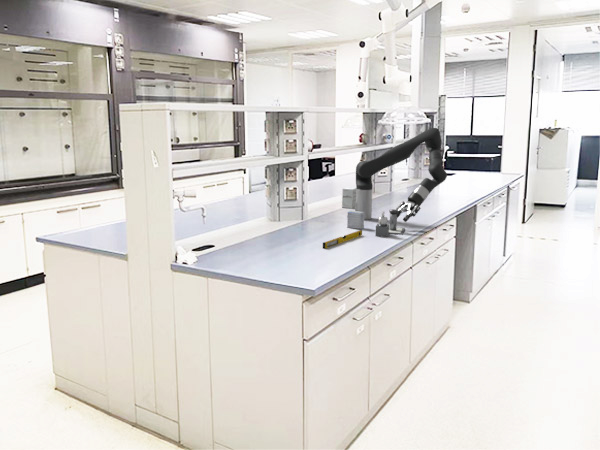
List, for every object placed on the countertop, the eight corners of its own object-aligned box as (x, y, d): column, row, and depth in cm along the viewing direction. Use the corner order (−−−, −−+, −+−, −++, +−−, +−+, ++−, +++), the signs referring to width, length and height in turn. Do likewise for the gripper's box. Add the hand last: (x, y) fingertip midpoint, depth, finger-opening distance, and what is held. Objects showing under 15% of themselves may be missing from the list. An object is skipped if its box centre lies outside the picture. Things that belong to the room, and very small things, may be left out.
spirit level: (359, 235, 264) (359, 229, 264) (361, 236, 264) (362, 230, 263) (322, 248, 238) (322, 242, 237) (325, 249, 237) (325, 242, 237)
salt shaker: (386, 229, 274) (387, 209, 272) (393, 228, 276) (394, 209, 274) (392, 231, 271) (393, 211, 269) (399, 230, 273) (399, 210, 271)
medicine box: (363, 227, 282) (364, 211, 280) (360, 229, 278) (361, 213, 276) (350, 226, 286) (350, 210, 284) (346, 227, 282) (347, 211, 280)
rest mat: (380, 233, 269) (380, 232, 268) (383, 227, 282) (383, 226, 282) (402, 234, 266) (402, 233, 265) (404, 229, 279) (404, 227, 279)
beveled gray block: (375, 236, 262) (376, 212, 260) (377, 233, 268) (377, 210, 266) (387, 236, 261) (388, 213, 258) (388, 234, 266) (389, 210, 264)
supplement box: (341, 207, 343) (342, 188, 340) (346, 206, 349) (346, 187, 347) (352, 208, 339) (352, 189, 337) (356, 207, 346) (357, 187, 343)
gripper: (431, 202, 271) (411, 226, 269) (414, 198, 284) (395, 221, 281) (423, 193, 268) (403, 217, 266) (406, 189, 280) (387, 212, 278)
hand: (399, 219), depth 273 cm, fingers open, 8 cm apart
